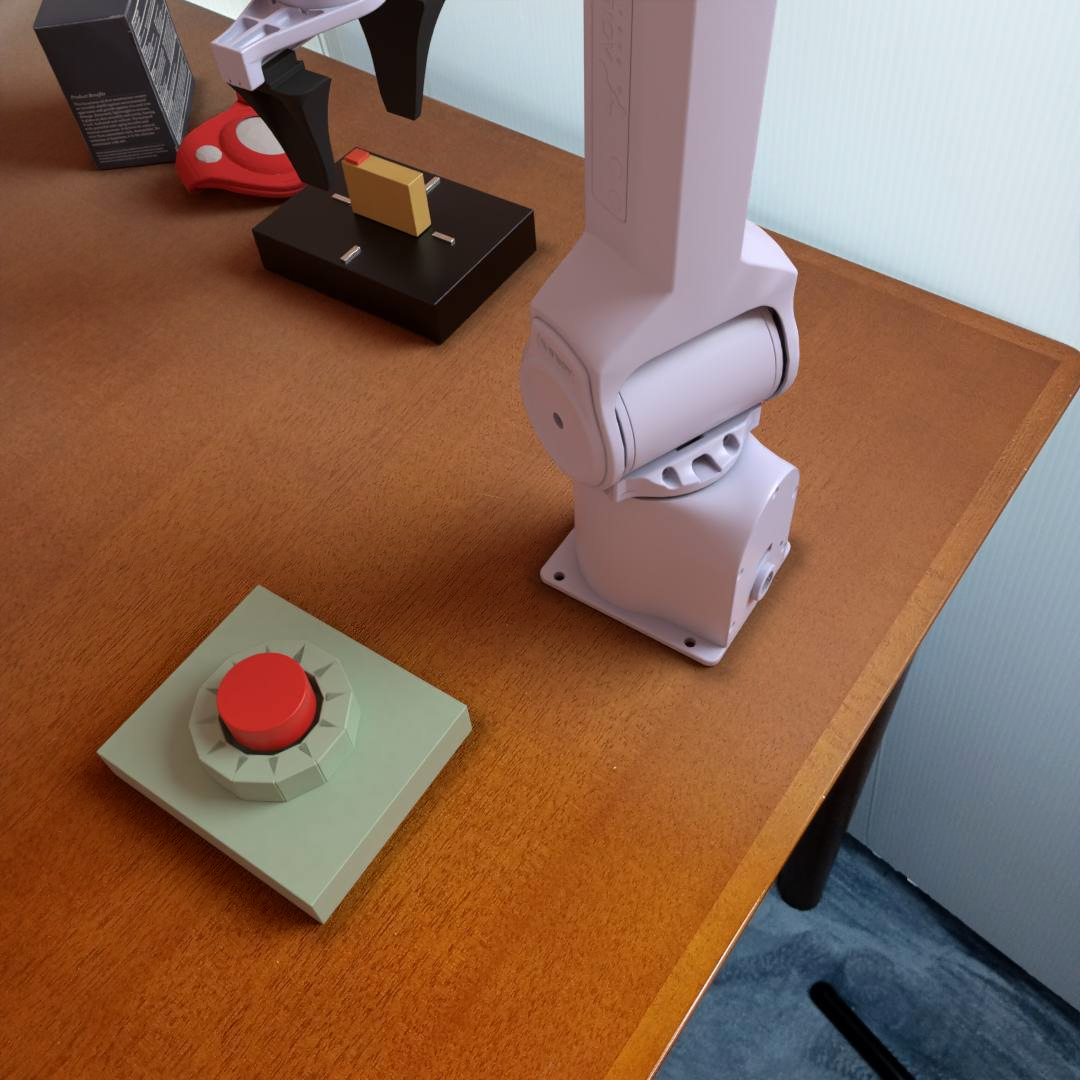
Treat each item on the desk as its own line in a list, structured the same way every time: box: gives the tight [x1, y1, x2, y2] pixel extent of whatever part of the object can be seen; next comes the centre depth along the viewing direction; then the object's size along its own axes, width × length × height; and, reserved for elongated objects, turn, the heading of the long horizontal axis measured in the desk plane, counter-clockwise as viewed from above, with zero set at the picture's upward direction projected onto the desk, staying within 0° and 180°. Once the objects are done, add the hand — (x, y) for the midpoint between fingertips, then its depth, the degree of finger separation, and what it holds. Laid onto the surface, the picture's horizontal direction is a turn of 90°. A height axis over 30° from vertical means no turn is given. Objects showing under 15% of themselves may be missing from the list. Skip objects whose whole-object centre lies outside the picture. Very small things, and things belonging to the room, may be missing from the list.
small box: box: [32, 0, 196, 171], centre depth 74 cm, size 11×6×10 cm, turn 6°
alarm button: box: [216, 652, 316, 751], centre depth 43 cm, size 4×4×2 cm
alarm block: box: [96, 584, 473, 925], centre depth 45 cm, size 12×10×4 cm
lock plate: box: [251, 146, 538, 345], centre depth 65 cm, size 14×10×3 cm
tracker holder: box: [174, 91, 308, 199], centre depth 73 cm, size 12×4×10 cm
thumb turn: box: [341, 148, 431, 237], centre depth 63 cm, size 5×1×4 cm, turn 56°
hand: (362, 147), depth 60 cm, fingers open, 7 cm apart
